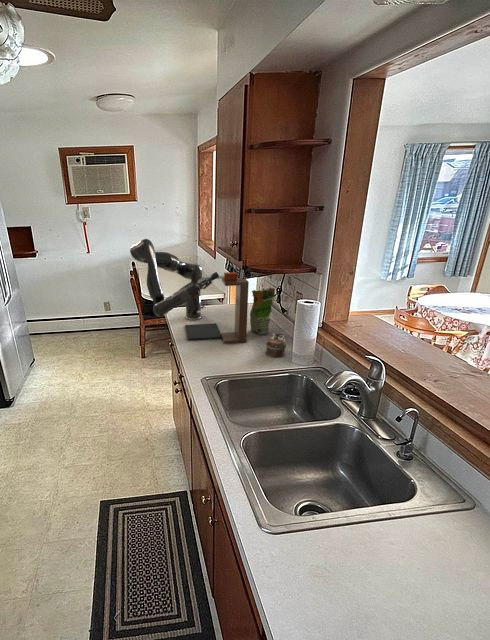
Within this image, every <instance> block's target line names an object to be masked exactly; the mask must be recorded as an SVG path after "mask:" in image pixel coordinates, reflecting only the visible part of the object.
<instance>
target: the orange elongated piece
mask: <svg viewBox="0 0 490 640" xmlns="http://www.w3.org/2000/svg"><path fill="white" fill-rule="evenodd" d="M218 275H219V277H218V278H216V279H215V280H220V279H221V280H222V279H223V278H224V280H225V281H235V280H237V277H238V273H237V272H236V271H230V272H229V271H228V272H223V274H218ZM236 275H237V276H236ZM203 277H204V278H205V279H207V278H209V277H211V276H209V275H208V276H207V275H204V276H203Z"/></svg>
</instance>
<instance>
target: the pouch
mask: <svg viewBox="0 0 490 640" xmlns="http://www.w3.org/2000/svg"><path fill="white" fill-rule="evenodd" d="M275 291H276V288H274V287H269V288H266V289H265V288H264V287H263V288H262V289H261V290H260V289H259V290H255V289H253V290H251V293H252V297H253V300H252V301H253V302H252V305H251V309H250V314H249V320H250V321H249V323H250V332H253V333H257V334H258V335H259V336H262V335H263V336H265V335H268V333H269V330H270V322H271V318H270V317H271V313H272V312H273V309H272V306H273V305H274V298H275V294H276V292H275Z"/></svg>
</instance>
